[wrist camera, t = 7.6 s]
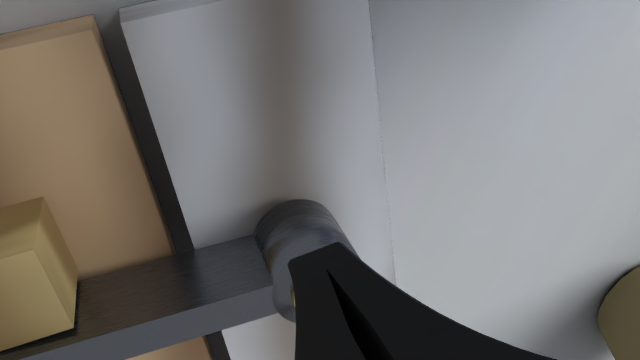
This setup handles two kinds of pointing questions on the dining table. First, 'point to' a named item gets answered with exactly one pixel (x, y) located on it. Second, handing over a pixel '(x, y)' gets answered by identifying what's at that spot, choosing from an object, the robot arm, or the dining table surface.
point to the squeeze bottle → (622, 317)
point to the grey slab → (183, 149)
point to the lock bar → (190, 291)
